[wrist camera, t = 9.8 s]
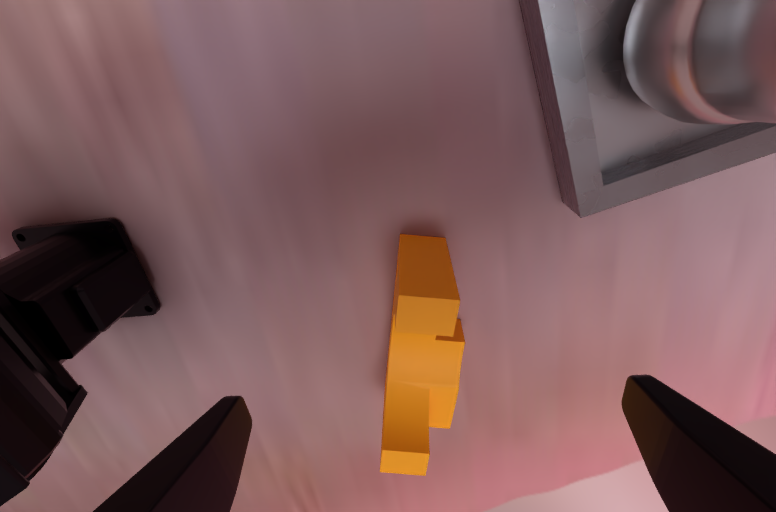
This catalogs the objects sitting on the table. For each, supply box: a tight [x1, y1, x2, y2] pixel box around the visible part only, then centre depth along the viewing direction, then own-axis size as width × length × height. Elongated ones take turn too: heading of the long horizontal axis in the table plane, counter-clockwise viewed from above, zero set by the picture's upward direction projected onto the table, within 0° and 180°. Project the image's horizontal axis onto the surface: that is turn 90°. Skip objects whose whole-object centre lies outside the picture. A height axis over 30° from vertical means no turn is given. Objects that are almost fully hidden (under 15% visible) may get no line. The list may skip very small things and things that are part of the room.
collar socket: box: [519, 0, 776, 218], centre depth 15 cm, size 12×12×2 cm
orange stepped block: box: [380, 234, 465, 476], centre depth 21 cm, size 12×4×6 cm, turn 176°
